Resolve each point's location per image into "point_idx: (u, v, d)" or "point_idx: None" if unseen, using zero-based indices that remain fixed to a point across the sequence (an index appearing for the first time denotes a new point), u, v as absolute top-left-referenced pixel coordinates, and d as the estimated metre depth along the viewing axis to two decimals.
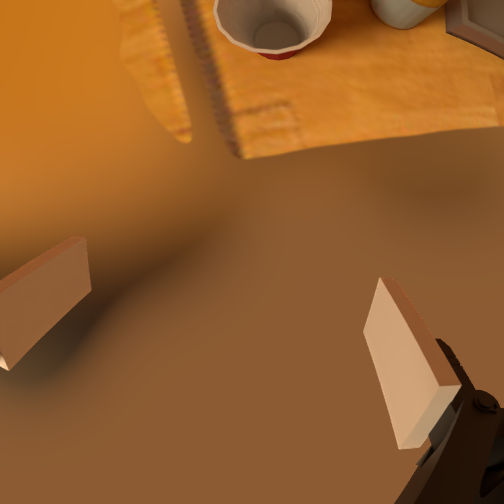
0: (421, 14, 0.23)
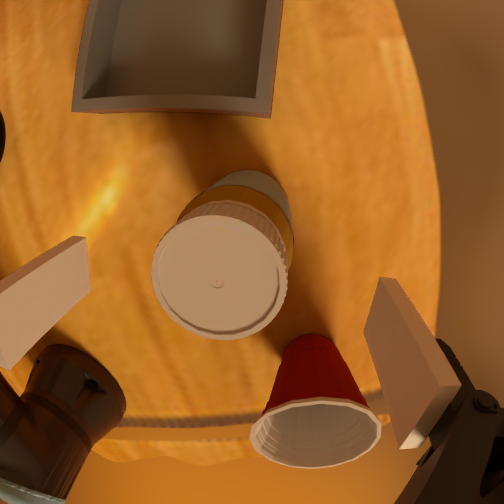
0: (290, 223, 0.20)
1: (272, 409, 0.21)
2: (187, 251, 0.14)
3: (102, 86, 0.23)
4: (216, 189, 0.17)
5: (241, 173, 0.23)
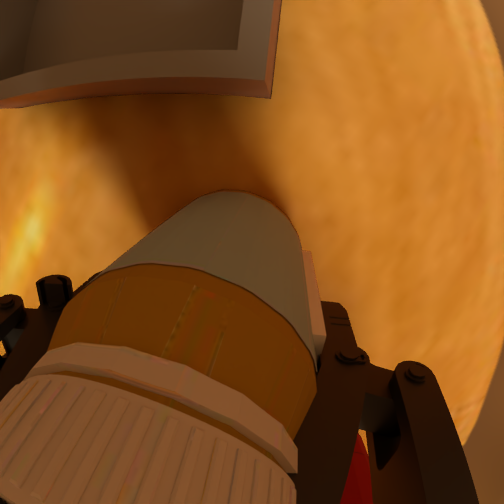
0: None
1: None
2: None
3: (14, 67, 0.12)
4: (114, 283, 0.06)
5: (212, 203, 0.12)
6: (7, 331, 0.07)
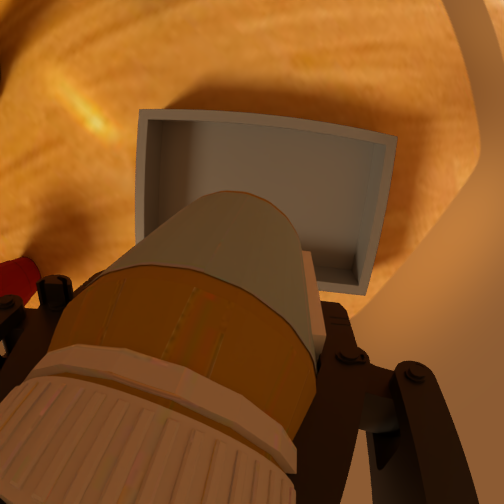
0: None
1: None
2: None
3: (172, 120, 0.30)
4: (114, 284, 0.06)
5: (212, 204, 0.12)
6: (7, 331, 0.07)
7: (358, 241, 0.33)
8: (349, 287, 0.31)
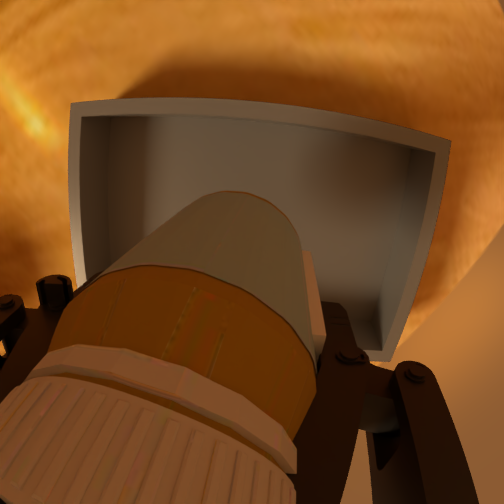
0: None
1: None
2: None
3: (121, 116, 0.20)
4: (114, 284, 0.06)
5: (212, 204, 0.12)
6: (7, 331, 0.07)
7: (383, 285, 0.23)
8: (370, 353, 0.21)
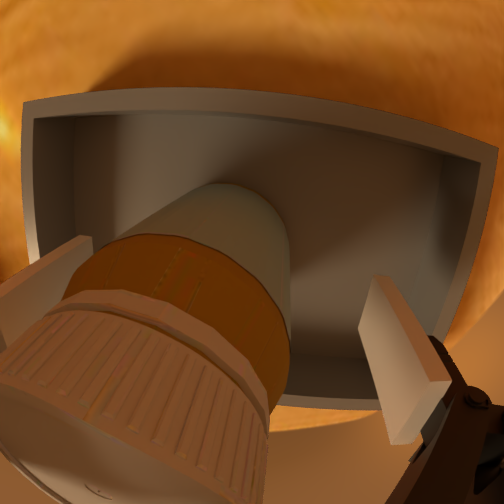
0: (287, 294, 0.11)
1: None
2: (20, 431, 0.04)
3: None
4: (115, 248, 0.07)
5: (203, 193, 0.13)
6: None
7: None
8: None
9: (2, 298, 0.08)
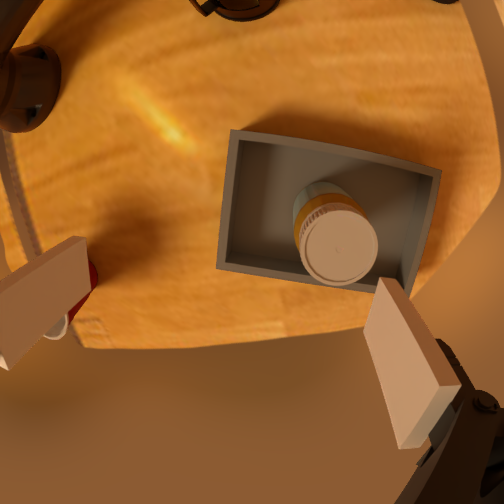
0: None
1: None
2: (325, 230, 0.23)
3: None
4: (327, 195, 0.27)
5: (325, 184, 0.33)
6: None
7: (403, 253, 0.38)
8: None
9: None
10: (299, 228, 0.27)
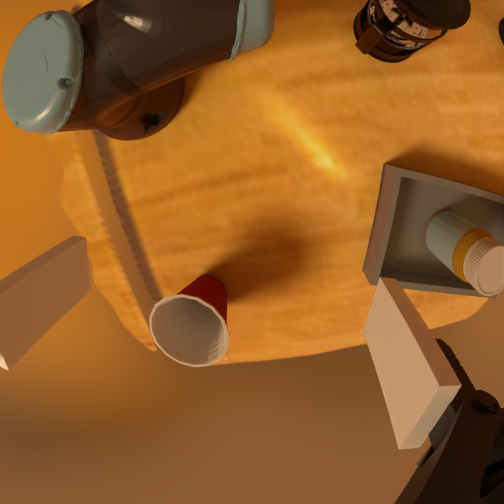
0: None
1: (215, 309, 0.37)
2: (490, 259, 0.27)
3: None
4: (477, 230, 0.30)
5: (457, 215, 0.36)
6: None
7: None
8: None
9: None
10: (462, 255, 0.31)
